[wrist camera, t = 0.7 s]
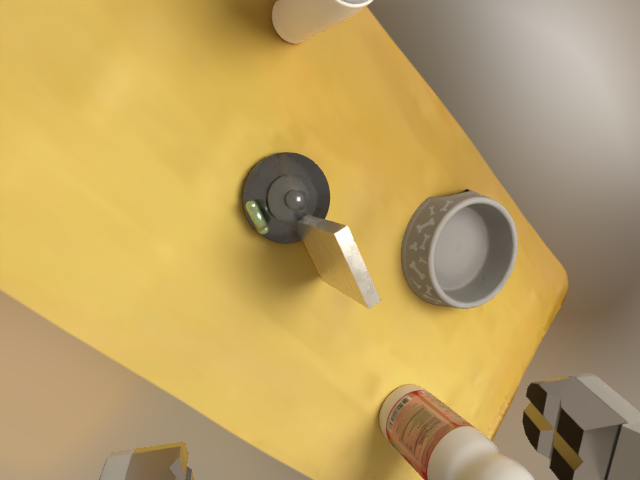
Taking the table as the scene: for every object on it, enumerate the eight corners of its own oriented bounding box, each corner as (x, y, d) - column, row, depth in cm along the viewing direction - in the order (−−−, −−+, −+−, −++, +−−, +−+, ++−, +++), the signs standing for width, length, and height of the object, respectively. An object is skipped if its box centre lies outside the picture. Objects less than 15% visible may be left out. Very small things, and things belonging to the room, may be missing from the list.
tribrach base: (225, 178, 49) (229, 178, 47) (304, 137, 52) (312, 136, 50) (267, 258, 53) (273, 261, 50) (339, 215, 56) (347, 217, 53)
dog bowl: (499, 284, 69) (527, 293, 65) (405, 316, 63) (428, 329, 58) (494, 181, 66) (523, 182, 61) (393, 203, 59) (416, 207, 54)
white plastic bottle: (431, 378, 66) (614, 509, 41) (425, 433, 68) (599, 593, 42) (379, 387, 63) (545, 536, 37) (374, 445, 64) (531, 628, 39)
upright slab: (256, 187, 49) (290, 193, 39) (299, 165, 51) (344, 164, 40) (308, 289, 54) (351, 320, 43) (346, 265, 56) (397, 289, 45)
